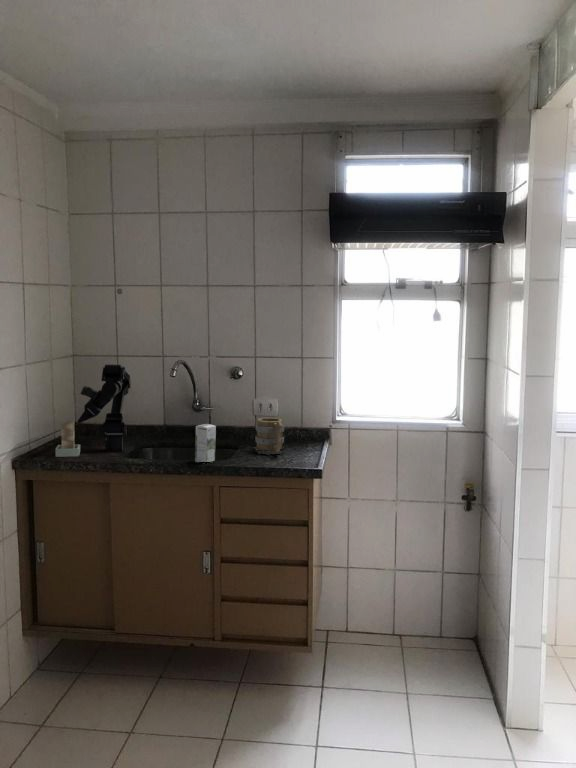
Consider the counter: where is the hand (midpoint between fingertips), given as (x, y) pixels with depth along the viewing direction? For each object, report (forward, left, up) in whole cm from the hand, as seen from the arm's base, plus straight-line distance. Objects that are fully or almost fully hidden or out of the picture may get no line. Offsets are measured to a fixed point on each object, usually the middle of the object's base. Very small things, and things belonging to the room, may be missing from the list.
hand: (79, 420), depth 263 cm
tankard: (-78, +10, -14) cm, 79 cm away
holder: (+4, +1, -14) cm, 14 cm away
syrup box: (-49, +21, -14) cm, 54 cm away
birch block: (+4, +1, -14) cm, 14 cm away
